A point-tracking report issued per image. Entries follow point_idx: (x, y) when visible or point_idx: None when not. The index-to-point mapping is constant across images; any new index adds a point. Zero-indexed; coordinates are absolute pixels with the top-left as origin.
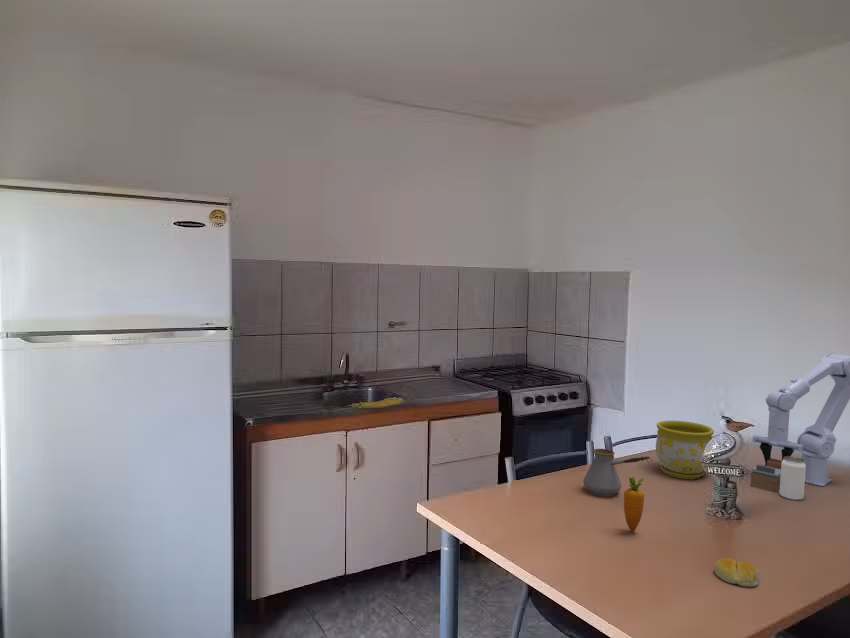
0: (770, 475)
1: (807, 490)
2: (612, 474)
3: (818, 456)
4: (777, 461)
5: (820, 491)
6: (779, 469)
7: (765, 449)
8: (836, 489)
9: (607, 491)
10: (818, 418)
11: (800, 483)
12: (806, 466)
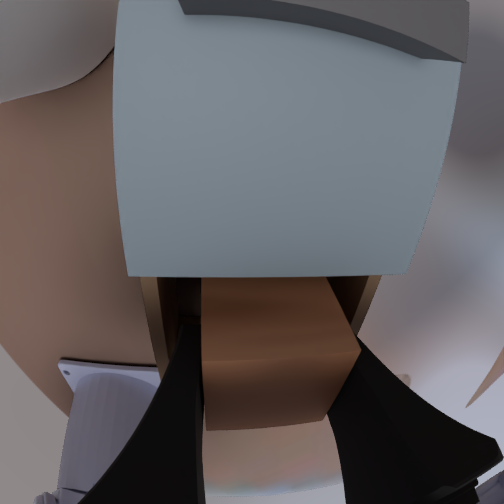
0: None
1: (50, 254)
2: None
3: (59, 497)
4: (254, 394)
5: (20, 289)
6: (185, 256)
7: (443, 458)
8: (24, 357)
9: None
10: None
11: None
12: (122, 443)
